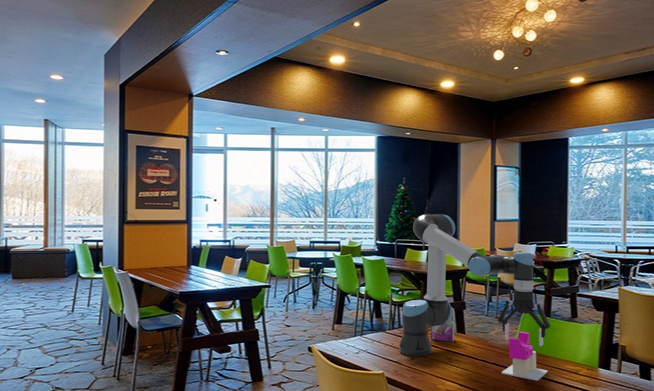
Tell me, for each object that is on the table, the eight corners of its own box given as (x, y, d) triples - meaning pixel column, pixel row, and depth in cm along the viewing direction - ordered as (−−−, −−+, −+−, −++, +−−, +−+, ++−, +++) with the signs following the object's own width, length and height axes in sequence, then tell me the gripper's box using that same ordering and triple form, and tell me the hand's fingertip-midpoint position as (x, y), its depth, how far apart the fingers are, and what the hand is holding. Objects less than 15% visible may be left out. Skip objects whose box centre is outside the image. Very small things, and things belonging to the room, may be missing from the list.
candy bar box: (430, 340, 256) (430, 308, 256) (433, 337, 260) (432, 306, 261) (452, 342, 251) (452, 309, 252) (454, 340, 256) (454, 308, 256)
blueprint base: (501, 373, 201) (501, 354, 201) (513, 365, 212) (512, 347, 212) (537, 380, 192) (537, 360, 192) (547, 372, 203) (547, 353, 203)
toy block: (525, 360, 193) (525, 340, 193) (509, 357, 197) (509, 338, 197) (535, 352, 205) (535, 333, 205) (520, 349, 209) (520, 331, 209)
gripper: (490, 288, 208) (490, 339, 207) (553, 294, 193) (553, 349, 192) (496, 286, 214) (496, 335, 213) (558, 292, 198) (558, 345, 198)
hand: (523, 342), depth 203 cm, fingers open, 13 cm apart
